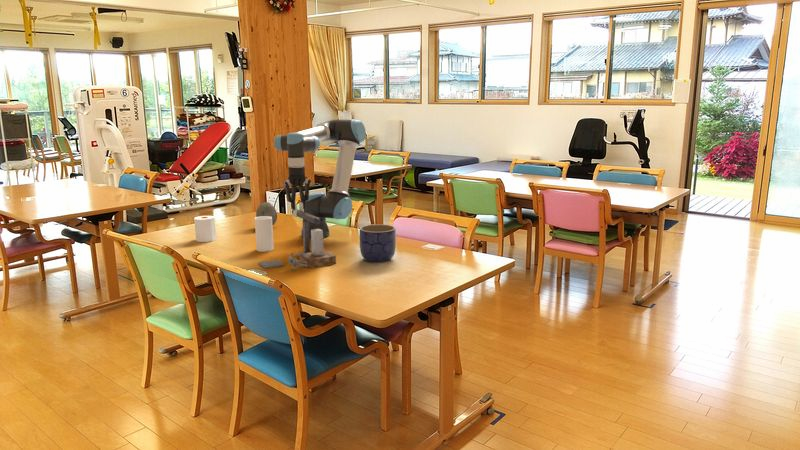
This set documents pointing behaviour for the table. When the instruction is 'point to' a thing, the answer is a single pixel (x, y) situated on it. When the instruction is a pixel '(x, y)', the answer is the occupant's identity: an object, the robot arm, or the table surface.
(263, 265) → the mat
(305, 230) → the handle post
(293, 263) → the elephant figurine
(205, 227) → the toilet paper
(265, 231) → the cup
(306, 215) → the dark grey bar
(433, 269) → the table surface
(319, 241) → the peg
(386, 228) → the planter
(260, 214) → the decorative egg
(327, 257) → the eye block
